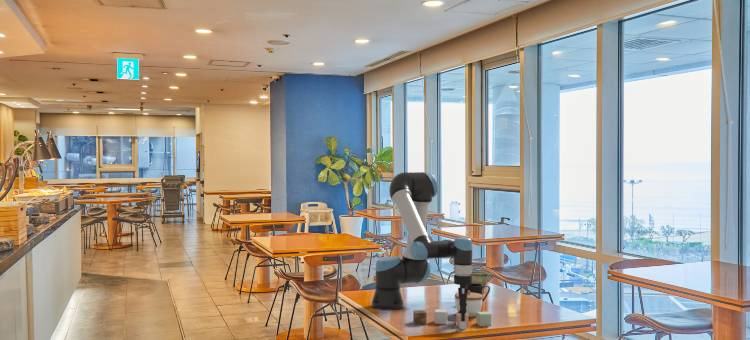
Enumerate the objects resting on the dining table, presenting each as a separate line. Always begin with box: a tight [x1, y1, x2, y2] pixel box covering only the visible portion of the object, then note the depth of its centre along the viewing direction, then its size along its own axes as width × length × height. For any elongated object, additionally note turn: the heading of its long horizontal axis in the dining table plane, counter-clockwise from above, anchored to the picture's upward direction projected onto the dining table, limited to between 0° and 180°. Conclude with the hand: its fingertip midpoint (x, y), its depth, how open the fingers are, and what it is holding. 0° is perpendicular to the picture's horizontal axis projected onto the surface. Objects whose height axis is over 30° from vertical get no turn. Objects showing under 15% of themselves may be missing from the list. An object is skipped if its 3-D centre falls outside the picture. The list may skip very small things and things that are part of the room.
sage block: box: [475, 311, 492, 327], centre depth 271 cm, size 5×5×5 cm
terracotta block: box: [455, 311, 470, 328], centre depth 269 cm, size 5×5×5 cm
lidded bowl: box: [454, 290, 484, 318], centre depth 288 cm, size 13×13×11 cm
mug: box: [466, 284, 491, 303], centre depth 312 cm, size 8×12×10 cm
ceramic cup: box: [470, 270, 494, 292], centre depth 347 cm, size 13×10×10 cm
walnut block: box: [412, 309, 427, 326], centre depth 272 cm, size 5×5×5 cm
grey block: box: [434, 308, 449, 325], centre depth 274 cm, size 5×5×5 cm
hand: (462, 325), depth 269 cm, fingers open, 13 cm apart
